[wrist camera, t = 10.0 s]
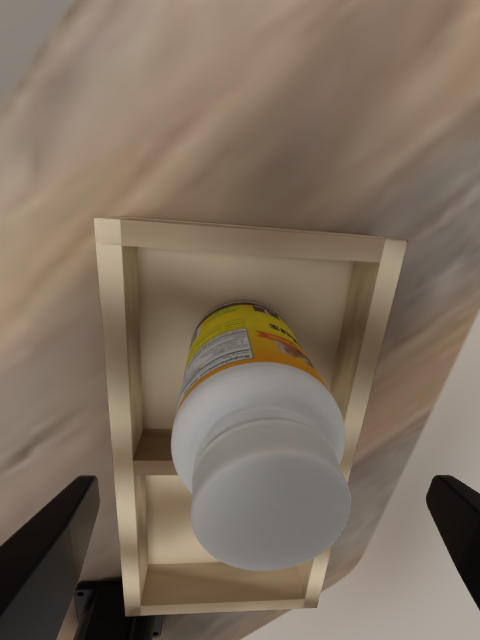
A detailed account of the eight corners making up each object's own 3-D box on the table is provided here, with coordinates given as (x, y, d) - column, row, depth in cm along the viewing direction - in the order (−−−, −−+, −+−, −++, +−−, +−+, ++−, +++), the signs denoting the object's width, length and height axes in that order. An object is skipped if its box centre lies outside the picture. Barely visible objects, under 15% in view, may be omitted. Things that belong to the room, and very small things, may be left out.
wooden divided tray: (303, 554, 25) (316, 607, 21) (138, 559, 23) (125, 616, 20) (369, 234, 16) (407, 241, 13) (120, 216, 15) (93, 217, 12)
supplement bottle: (305, 365, 18) (411, 548, 8) (218, 403, 18) (220, 620, 8) (267, 279, 16) (345, 382, 6) (172, 324, 16) (106, 485, 7)
